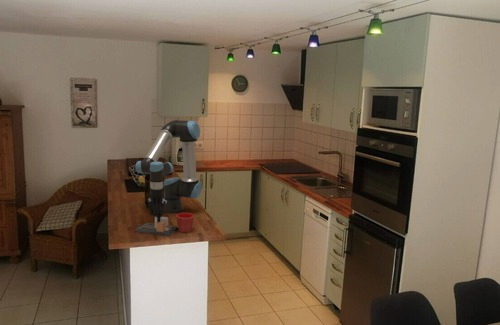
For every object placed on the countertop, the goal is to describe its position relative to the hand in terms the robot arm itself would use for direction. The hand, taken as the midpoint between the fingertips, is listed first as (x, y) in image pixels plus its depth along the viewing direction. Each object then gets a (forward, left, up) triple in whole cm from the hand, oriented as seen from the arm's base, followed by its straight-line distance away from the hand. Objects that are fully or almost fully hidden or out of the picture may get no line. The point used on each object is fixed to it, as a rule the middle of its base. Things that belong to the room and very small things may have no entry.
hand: (157, 226), depth 249 cm
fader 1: (-8, 0, -2) cm, 8 cm away
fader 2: (0, +3, -2) cm, 3 cm away
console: (-4, -2, -4) cm, 6 cm away
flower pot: (-11, +13, -4) cm, 18 cm away
